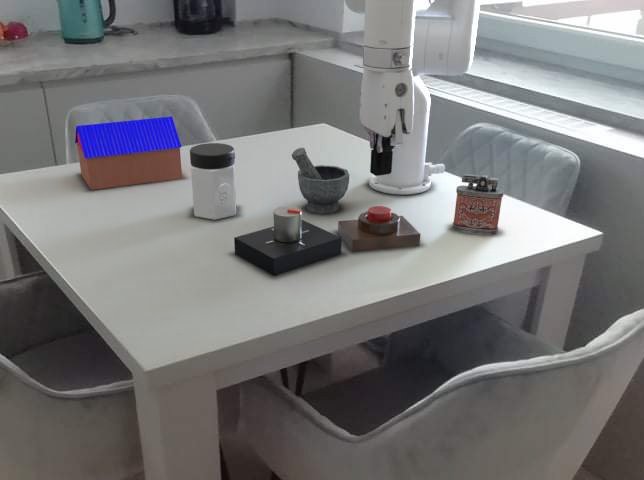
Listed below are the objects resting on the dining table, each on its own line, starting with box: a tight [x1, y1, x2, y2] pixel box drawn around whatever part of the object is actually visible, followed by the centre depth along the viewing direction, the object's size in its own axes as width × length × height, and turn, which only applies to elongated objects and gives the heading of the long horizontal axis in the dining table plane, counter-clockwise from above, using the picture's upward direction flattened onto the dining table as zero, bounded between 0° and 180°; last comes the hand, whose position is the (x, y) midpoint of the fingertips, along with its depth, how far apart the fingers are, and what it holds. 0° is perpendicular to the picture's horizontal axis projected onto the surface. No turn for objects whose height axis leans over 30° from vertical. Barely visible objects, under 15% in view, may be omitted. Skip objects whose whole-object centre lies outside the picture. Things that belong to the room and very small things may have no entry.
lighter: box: [451, 173, 505, 236], centre depth 132 cm, size 8×3×10 cm, turn 71°
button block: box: [337, 210, 421, 253], centre depth 130 cm, size 12×9×4 cm
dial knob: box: [273, 205, 303, 242], centre depth 123 cm, size 5×5×5 cm
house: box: [74, 116, 183, 191], centre depth 159 cm, size 12×20×12 cm, turn 113°
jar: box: [189, 142, 237, 221], centre depth 140 cm, size 9×8×12 cm
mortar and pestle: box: [291, 147, 350, 215], centre depth 141 cm, size 11×9×12 cm
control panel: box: [233, 219, 343, 277], centre depth 125 cm, size 14×11×3 cm
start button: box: [367, 205, 392, 222], centre depth 129 cm, size 4×4×2 cm
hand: (380, 173), depth 126 cm, fingers closed
